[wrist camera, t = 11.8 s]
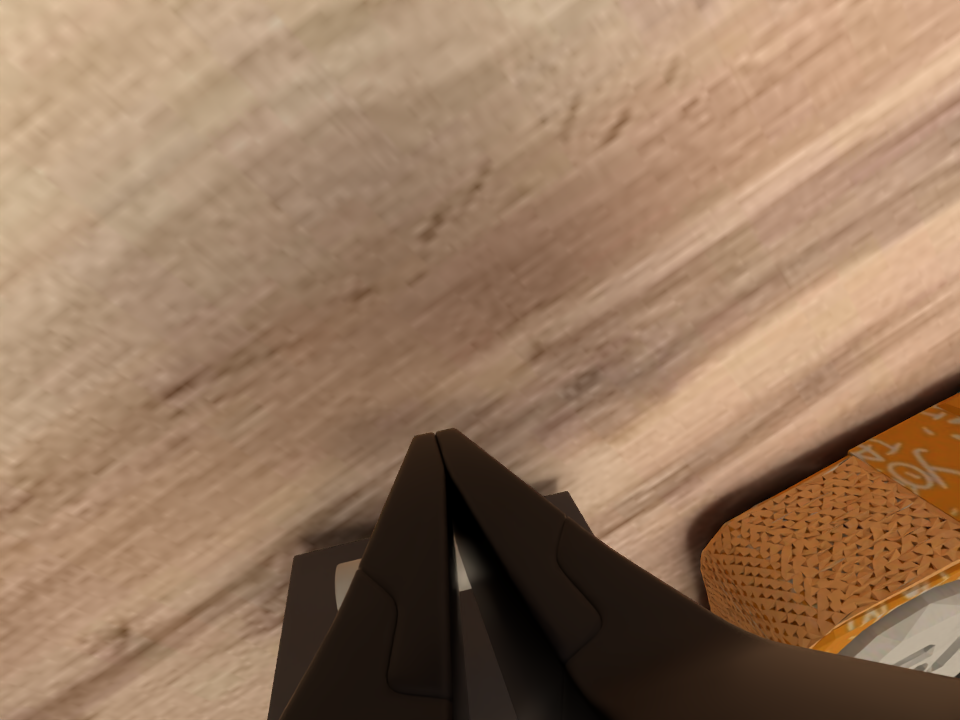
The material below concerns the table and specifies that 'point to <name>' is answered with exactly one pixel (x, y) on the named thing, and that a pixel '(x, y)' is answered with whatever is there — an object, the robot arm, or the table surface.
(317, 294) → the table surface
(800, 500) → the device
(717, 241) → the table surface
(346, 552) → the cabinet drawer
